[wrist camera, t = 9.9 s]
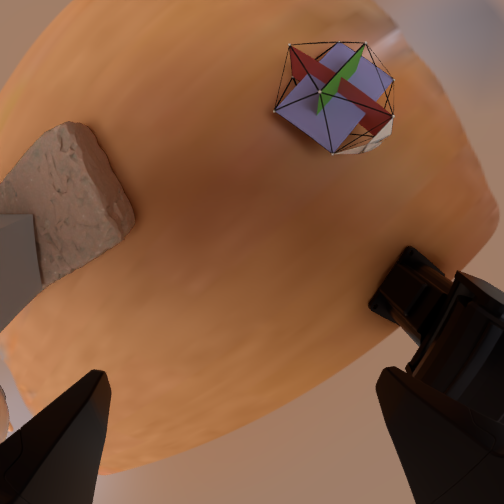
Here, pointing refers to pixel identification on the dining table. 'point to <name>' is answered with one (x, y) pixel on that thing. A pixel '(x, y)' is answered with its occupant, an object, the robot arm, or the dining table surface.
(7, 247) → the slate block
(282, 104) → the geometric puzzle
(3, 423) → the lidded bowl
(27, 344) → the dining table surface
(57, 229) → the brick
